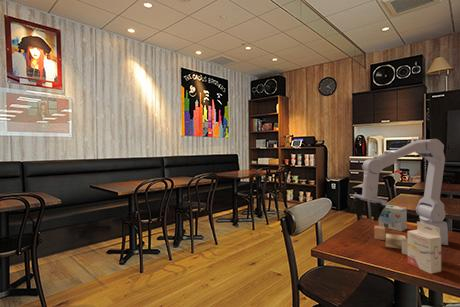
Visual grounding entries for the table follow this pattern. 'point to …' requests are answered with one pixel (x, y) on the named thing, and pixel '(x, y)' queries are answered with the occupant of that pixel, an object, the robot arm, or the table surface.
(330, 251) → the table surface
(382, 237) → the terracotta block
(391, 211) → the light bulb box
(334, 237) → the table surface
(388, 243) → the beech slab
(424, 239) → the ink cartridge box
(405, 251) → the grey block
